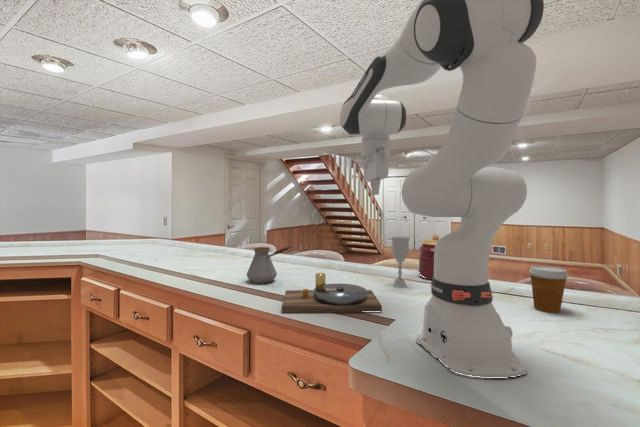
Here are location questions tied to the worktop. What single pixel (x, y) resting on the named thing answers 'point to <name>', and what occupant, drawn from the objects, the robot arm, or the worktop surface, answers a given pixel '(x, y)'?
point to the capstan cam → (338, 292)
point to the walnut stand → (308, 304)
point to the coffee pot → (263, 265)
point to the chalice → (400, 255)
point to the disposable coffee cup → (548, 287)
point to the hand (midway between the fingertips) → (375, 194)
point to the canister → (427, 257)
